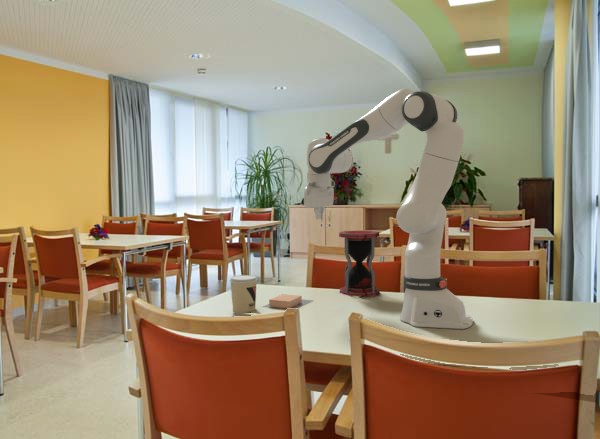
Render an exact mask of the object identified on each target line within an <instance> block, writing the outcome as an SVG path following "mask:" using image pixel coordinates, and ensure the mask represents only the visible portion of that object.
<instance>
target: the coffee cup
mask: <svg viewBox="0 0 600 439" xmlns="http://www.w3.org/2000/svg"><path fill="white" fill-rule="evenodd" d="M229 281H230V292H231V301H232V302H231V304H232V310H233V313H234V314H239V315H245V314H252V313H253V312H252V311H254V310H256V302H257V300H256V299H257V281H258V279H257V276H255V275H250V274H249V275H246V274H244V275H234V276H230V279H229Z"/></svg>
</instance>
